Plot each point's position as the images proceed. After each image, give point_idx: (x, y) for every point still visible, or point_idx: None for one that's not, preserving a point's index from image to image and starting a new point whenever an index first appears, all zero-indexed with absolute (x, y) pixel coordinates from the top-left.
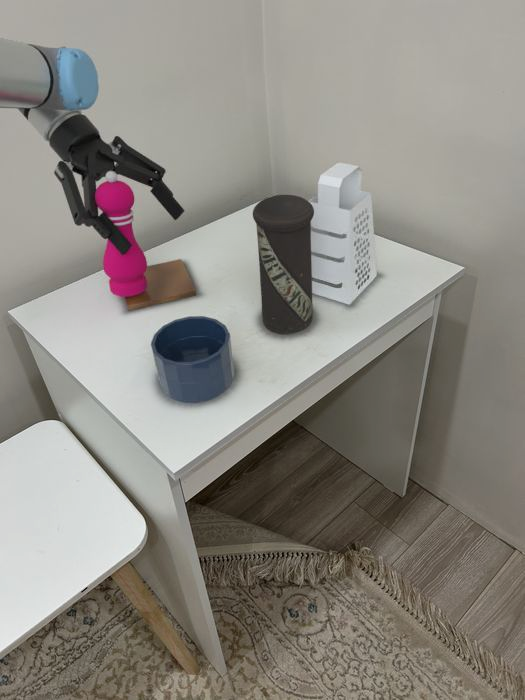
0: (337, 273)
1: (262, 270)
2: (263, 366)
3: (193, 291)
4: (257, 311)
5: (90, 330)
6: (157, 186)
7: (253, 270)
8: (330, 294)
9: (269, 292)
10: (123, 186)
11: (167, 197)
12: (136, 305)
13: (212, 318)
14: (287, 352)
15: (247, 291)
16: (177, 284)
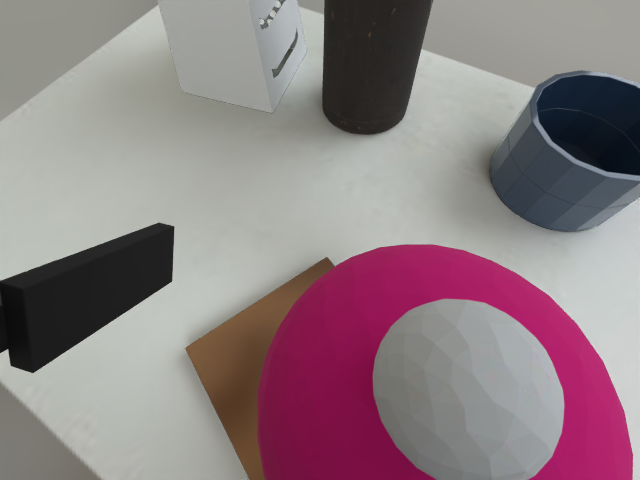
0: (290, 19)
1: (421, 14)
2: (481, 111)
3: (330, 261)
4: (353, 147)
5: None
6: (44, 297)
7: (217, 186)
8: (294, 64)
9: (421, 46)
10: (431, 262)
11: (112, 262)
12: None
13: (531, 106)
14: (439, 93)
15: (295, 177)
16: None
